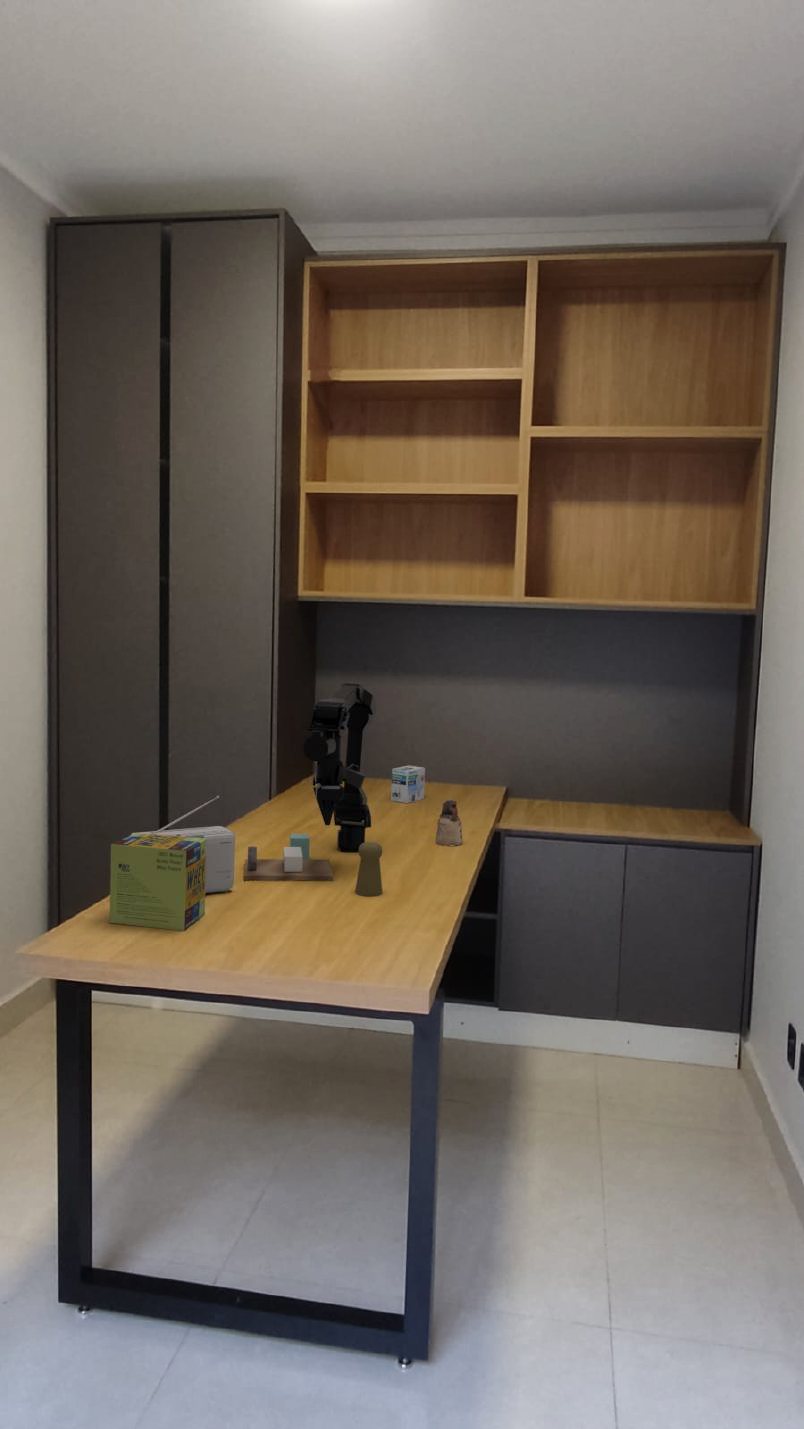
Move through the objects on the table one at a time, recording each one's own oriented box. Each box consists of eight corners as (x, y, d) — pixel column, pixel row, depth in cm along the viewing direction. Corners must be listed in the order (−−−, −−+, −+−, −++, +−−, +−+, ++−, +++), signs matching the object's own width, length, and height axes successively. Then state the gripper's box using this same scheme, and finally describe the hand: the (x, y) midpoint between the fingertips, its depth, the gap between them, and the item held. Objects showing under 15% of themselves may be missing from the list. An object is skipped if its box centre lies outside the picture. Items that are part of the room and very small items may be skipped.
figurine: (456, 839, 259) (458, 796, 258) (466, 845, 253) (468, 801, 251) (432, 840, 257) (434, 797, 256) (441, 846, 250) (443, 802, 249)
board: (328, 864, 228) (329, 843, 228) (333, 880, 214) (334, 858, 214) (244, 864, 225) (245, 842, 224) (244, 880, 211) (244, 857, 211)
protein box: (185, 931, 177) (186, 850, 175) (108, 923, 179) (109, 843, 178) (206, 914, 187) (208, 837, 185) (133, 907, 190) (134, 831, 188)
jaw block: (307, 857, 233) (308, 834, 233) (308, 862, 229) (309, 838, 228) (289, 857, 233) (290, 834, 232) (290, 862, 228) (290, 838, 228)
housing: (300, 861, 224) (300, 846, 224) (302, 871, 216) (302, 856, 215) (283, 861, 224) (283, 846, 223) (284, 871, 215) (284, 856, 215)
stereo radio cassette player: (137, 905, 191) (138, 807, 189) (126, 893, 198) (127, 800, 196) (235, 893, 202) (237, 801, 200) (221, 883, 209) (223, 794, 207)
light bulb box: (407, 803, 306) (408, 770, 305) (390, 800, 310) (391, 768, 309) (424, 799, 315) (426, 767, 314) (407, 796, 319) (409, 764, 318)
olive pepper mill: (384, 896, 204) (386, 846, 203) (356, 896, 203) (358, 846, 202) (380, 888, 210) (382, 839, 209) (353, 888, 209) (355, 839, 208)
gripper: (368, 762, 210) (365, 831, 212) (359, 750, 229) (356, 813, 230) (317, 761, 208) (315, 831, 210) (313, 749, 227) (310, 813, 228)
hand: (326, 821), depth 220 cm, fingers open, 6 cm apart
